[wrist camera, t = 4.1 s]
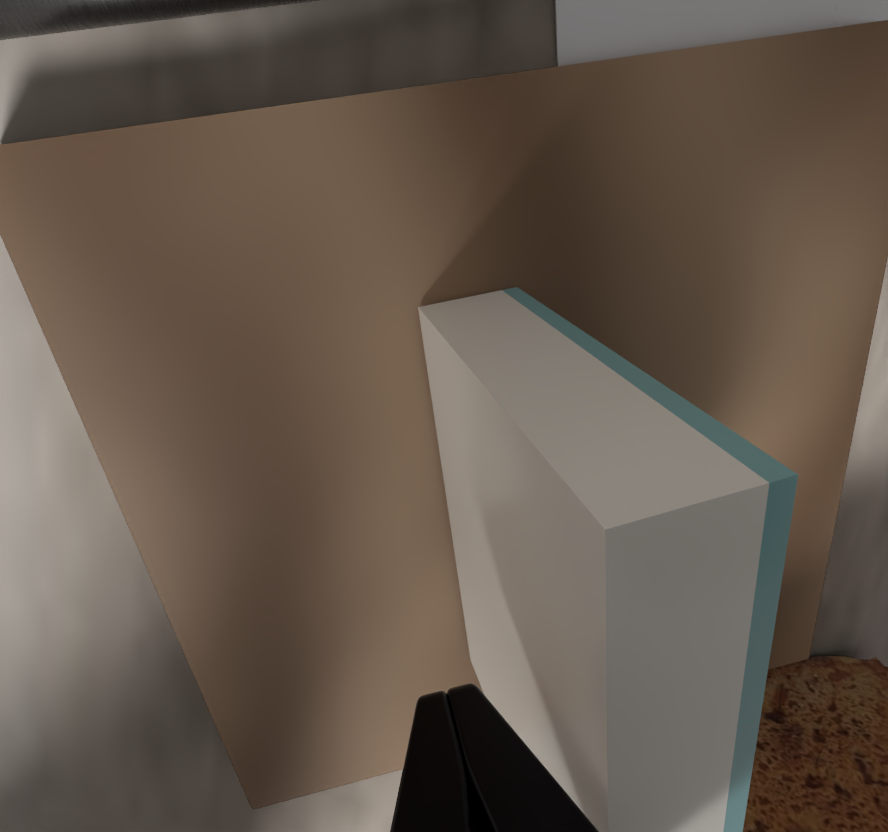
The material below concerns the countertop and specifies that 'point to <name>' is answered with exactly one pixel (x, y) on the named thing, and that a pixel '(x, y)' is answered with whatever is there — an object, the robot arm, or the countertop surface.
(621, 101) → the board
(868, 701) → the bread
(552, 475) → the tile
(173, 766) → the countertop surface
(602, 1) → the turner
